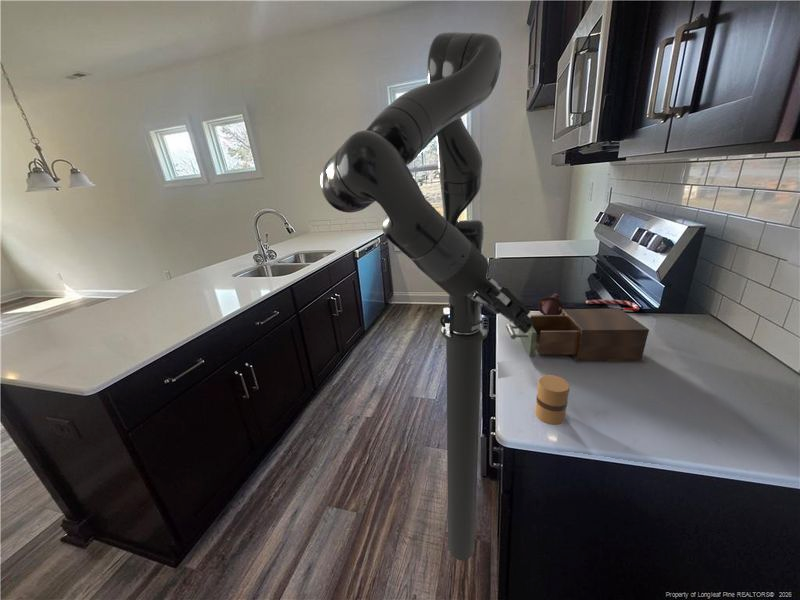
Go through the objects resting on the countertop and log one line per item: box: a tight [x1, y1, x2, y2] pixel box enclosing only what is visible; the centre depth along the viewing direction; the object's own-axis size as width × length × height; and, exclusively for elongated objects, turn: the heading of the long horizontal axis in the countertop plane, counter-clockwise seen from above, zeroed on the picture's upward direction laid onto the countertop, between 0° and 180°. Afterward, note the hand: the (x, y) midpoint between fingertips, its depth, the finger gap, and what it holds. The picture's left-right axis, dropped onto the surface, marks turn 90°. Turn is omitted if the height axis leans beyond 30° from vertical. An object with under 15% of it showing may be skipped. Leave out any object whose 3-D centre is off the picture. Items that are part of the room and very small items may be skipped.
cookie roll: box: [534, 374, 571, 426], centre depth 60 cm, size 5×5×8 cm
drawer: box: [505, 314, 580, 358], centre depth 83 cm, size 18×11×7 cm, turn 84°
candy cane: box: [585, 299, 640, 313], centre depth 106 cm, size 8×1×15 cm
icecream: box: [537, 293, 564, 315], centre depth 101 cm, size 7×7×15 cm
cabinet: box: [561, 307, 650, 362], centre depth 81 cm, size 15×13×9 cm
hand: (510, 317), depth 52 cm, fingers open, 8 cm apart
